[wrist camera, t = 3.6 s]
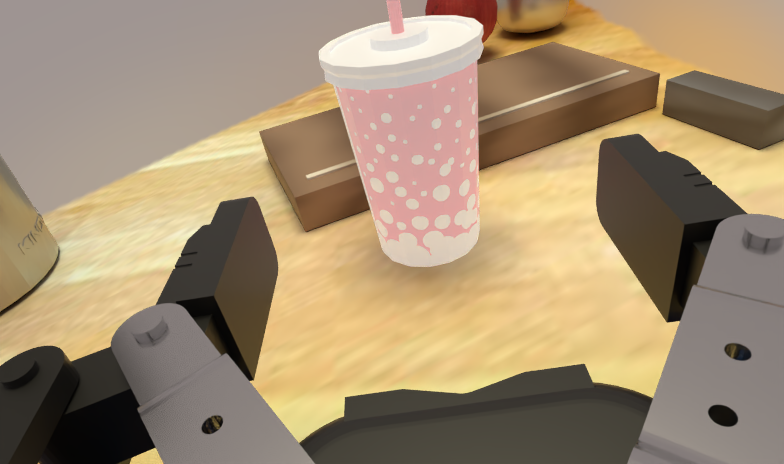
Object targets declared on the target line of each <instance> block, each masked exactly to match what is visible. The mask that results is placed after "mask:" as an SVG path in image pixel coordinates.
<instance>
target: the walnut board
mask: <svg viewBox="0 0 784 464" xmlns="http://www.w3.org/2000/svg"><path fill="white" fill-rule="evenodd" d="M659 77H660V73H656V72H653V71H650V70H646V69H643V68H639V67H636V66H633V65H629V64H626V63H622V62H619V61H616V60H612V59H609V58H605V57H602V56H599V55H595V54H592V53H588V52H585V51H582V50H578V49H575V48H571V47H568V46H565V45H561V44H558V43H554V42H551V43H548V44H544V45H541V46H538V47H534V48H531V49H528V50H525V51H521V52H518V53H515V54H512V55H508V56H505V57H502V58H498V59H495V60H492V61H489V62H485V63H482V64H479V65H477V78H478V151H479V170H480V169H482V168H485V167H488V166H491V165H494V164H496V163H499V162H502V161H505V160H508V159H510V158H513V157H516V156H519V155H522V154H524V153H527V152H530V151H533V150H536V149H538V148H541V147H544V146H547V145H549V144H552V143H555V142H558V141H561V140H563V139H566V138H569V137H572V136H575V135H577V134H580V133H583V132H586V131H589V130H591V129H594V128H597V127H600V126H603V125H605V124H608V123H611V122H614V121H617V120H619V119H622V118H625V117H628V116H631V115H633V114H636V113H639V112H642V111H645V110H647V109H650V108H653V107H656V102H657V94H658V85H659ZM662 114H664V115H667V116H670V117H673V118H675V119H678V120H681V121H683V122H686V123H689V124H691V125H694V126H697V127H700V128H702V129H705V130H708V131H710V132H713V133H716V134H718V135H721V136H724V137H727V138H729V139H732V140H735V141H737V142H740V143H743V144H745V145H748V146H751V147H754V148H756V149H761V148H764V147H766V146H769V145H771V144H774V143H776V142H779V141H781V140H784V94H780V93H776V92H773V91H769V90H766V89H762V88H758V87H754V86H751V85H747V84H743V83H739V82H736V81H732V80H728V79H725V78H721V77H717V76H714V75H710V74H706V73H703V72H699V71H692V72H689V73H686V74H683V75H680V76H677V77H674V78H671V79H668V80H667V82H666V90H665V98H664V105H663V113H662ZM259 133H260V136H261V139H262V142H263V145H264V148H265V151H266V154H267V157H268V160H269V162H270V164H271V166H272V168H273V169H274V171H275V173H276V175H277V177H278V179H279V181H280V183H281V185H282V187H283V189H284V191H285V193H286V195H287V197H288V198H289V200H290V202H291V204H292V206H293V208H294V210H295V212H296V214H297V216H298V218H299V220H300V222H301V224H302V226H303V227H304V229H305V231H309V230H312V229H314V228H317V227H320V226H323V225H326V224H328V223H331V222H334V221H337V220H340V219H342V218H345V217H348V216H351V215H354V214H356V213H359V212H362V211H365V210H368V209H370V206H369V203H368V200H367V196H366V193H365V190H364V186H363V183H362V179H361V176H360V173H359V169H358V166H357V163H356V159H355V156H354V153H353V149H352V146H351V142H350V139H349V136H348V132H347V129H346V126H345V122H344V119H343V116H342V112H341V109H340V107H338V108H335V109H331V110H328V111H325V112H322V113H318V114H315V115H312V116H309V117H305V118H302V119H299V120H295V121H292V122H289V123H286V124H282V125H279V126H276V127H272V128H269V129H266V130H263V131H259Z"/></svg>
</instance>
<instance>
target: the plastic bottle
mask: <svg viewBox="0 0 784 464" xmlns="http://www.w3.org/2000/svg"><path fill="white" fill-rule="evenodd" d="M496 1H497V6H498V8H497V22H498V23H499V25H500V26H501V27H502V29H503V30H505V31H508V32H515V33H533V32H538V31H542V30H547V29H550V28H553V27H555V26H558V25H559V24H560V23H561V22H562V20H563V18H564V17H565V15H566V13H567V8H568V2H569V0H496Z"/></svg>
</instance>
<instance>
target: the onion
mask: <svg viewBox="0 0 784 464" xmlns="http://www.w3.org/2000/svg"><path fill="white" fill-rule="evenodd" d="M497 8H498V6H497V1H496V0H428V1H427V5H426V16H430V15H457V16H462V17H468V18H474V19H475V20H477V21H478V22H479V23H481V24H482V25H483V32H484V34H483V36H482V39H481V40H482V43H484V42H485V41H486V40H487V38H488V37H489V35H490V34H491V33H492V31H493V29H494V27H495V24H496V21H497Z"/></svg>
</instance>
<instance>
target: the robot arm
mask: <svg viewBox="0 0 784 464" xmlns="http://www.w3.org/2000/svg"><path fill="white" fill-rule="evenodd" d="M596 205H597V212H598V216H599V220H600V222H601V224H602V226H603V228H604V229H605V231H606V232H607V234H608V235H609V237H610V238H611V240H612V241H613V243H614V244H615V246H616V247H617V249H618V250H619V252H620V253H621V255H622V256H623V258H624V259H625V261H626V262H627V264H628V265H629V266H630V268H631V269H632V271H633V272H634V274H635V275H636V277H637V278H638V280H639V281H640V283H641V284H642V286H643V287H644V289H645V290H646V292H647V293H648V295H649V296H650V298H651V299H652V301H653V302H654V304H655V305H656V307H657V308H658V310H659V311H660V313H661V314H662V316H663V317H664V319H665V320H666V322H674V321H680V323H679V326H678V329H677V332H676V335H675V338H674V340H673V343H672V346H671V349H670V352H669V355H668V358H667V360H666V363H665V366H664V369H663V372H662V375H661V378H660V380H659V383H658V386H657V389H656V392H655V395H654V398H651V397H649V396H647V395H644V394H641V393H639V392H636V391H633V390H630V389H626V388H622V387H619V386H614V385H608V384H603V383H594V382H592V380H591V377H590V375H589V373H588V371H587V368H586V366H585V364H579V365H572V366H565V367H558V368H551V369H544V370H537V371H529V372H524V373H521V374H518V375H516V376H513V377H510V378H508V379H505V380H502V381H499V382H497V383H494V384H491V385H489V386H486V387H483V388H481V389H478V390H475V391H473V392H469V393H464V394H458V393H445V392H432V391H419V390H406V389H401V390H393V391H386V392H379V393H372V394H365V395H358V396H350V397H345V411H344V417H341V418H339V419H336V420H334V421H332V422H330V423H328V424H326V425H324V426H323V427H321V428H319V429H318V430H316V431H315V432H313V433H312V434H310V435H309V436H308V437H306V438H305V439H304V440H303V441H301V442H300V443H298V442H297V440H296V439H295V438H294V437H293V435H292V434H291V433H290V432H289V430H288V429H287V428H286V427H285V425H284V424H283V423H282V422H281V420H280V419H279V418H278V417H277V415H276V414H275V413H274V412H273V410H272V409H271V408H270V407H269V405H268V404H267V403H266V402H265V400H264V399H263V398H262V397H261V395H260V394H259V393H258V392H257V390H256V389H255V388H254V387H253V385H252V384H251V383H250V382H249V381H252V380H254V377H255V373H256V368H257V364H258V360H259V355H260V351H261V346H262V342H263V338H264V333H265V329H266V324H267V320H268V315H269V311H270V307H271V302H272V298H273V293H274V289H275V285H276V280H277V276H278V261H277V255H276V251H275V248H274V245H273V242H272V240H271V237H270V234H269V231H268V229H267V226H266V223H265V220H264V217H263V215H262V212H261V209H260V206H259V204H258V202H257V200H256V199H255V198H254V197H247V198H241V199H235V200H229V201H223V202H221V203H220V204H219V206H218V209H217V211H216V213H215V215H214V217H213V220H212V222H211V224H209V225H203V226H202V227H201V228H200V229H199V230H198V231H197V232H196V233H195V234H193V235H192V236H191V237H190V238H189V239H188V241H187V243H186V245H185V247H184V249H183V251H182V253H181V257H179V259H178V261H177V263H176V265H175V269H173V271H172V273H171V275H170V277H169V279H168V281H167V283H166V285H165V287H164V289H163V291H162V293H161V295H160V297H159V299H158V301H157V303H156V305H155V306H151V307H149V308H146V309H144V310H142V311H140V312H138V313H136V314H135V315H133V316H132V317H130V318H129V319H127V320H126V321H125V322H124V323H123V324H122V325H121V326H120V327H119V328H118V329H117V331H116V332H115V334H114V336H113V338H112V341H111V347H109V348H106V349H103V350H101V351H98V352H95V353H93V354H90V355H87V356H85V357H82V358H79V359H77V360H74V361H70V360H69V359H68V357H67V356H66V355H65V353H64V352H63V351H62V350H61V349H60V348H58V347H55V346H41V347H37V348H33V349H30V350H27V351H25V352H23V353H21V354H19V355H17V356H15V357H13V358H11V359H10V360H8V361H7V362H5V363H4V364H2V365H1V366H0V464H38V462H39V463H40V464H130V461H131V458H132V457H134V456H137V455H139V454H141V453H144V452H146V451H148V450H151V449H153V448H156V449H157V451H158V453H159V455H160V457H161V459H162V461H163V463H164V464H784V219H781V218H778V217H774V216H769V215H761V214H747V213H746V212H745V211H744V210H743V209H742V208H740V207H739V206H738V205H737V204H736V203H735V202H734V201H733V200H732V199H730V198H729V197H728V196H727V195H726V194H725V193H724V192H723V191H721V190H720V189H719V188H718V187H717V186H716V185H712V182H711V181H710V180H709V179H708V178H707V177H706V176H705V175H701V172H700V171H699V170H698V169H697V168H696V167H694V166H693V165H692V164H691V163H690V162H689V161H688V160H686V159H684V158H681V157H679V156H676V155H674V154H672V153H669V152H667V151H663V152H658V151H657V150H656V149H655V148H654V147H653V146H652V145H651V144H650V143H649V142H648V141H647V140H646V139H645V138H644V137H643V136H641V135H640V134H633V135H627V136H621V137H615V138H609V139H604V140H603V141H602V142H601V145H600V149H599V163H598V179H597V195H596ZM58 248H59V246H58V244H57V243H56V241H55V239H54V238H53V236H52V235H51V233H50V232H49V230H48V228H47V227H46V225H45V223H44V221H43V218H42V217H41V215H40V214H39V212H38V211H37V209H36V208H35V207H34V206H33V205H32V203H31V201H30V200H29V198H28V197H27V195H26V194H25V192H24V191H23V189H22V188H21V186H20V185H19V183H18V181H17V179H16V178H15V176H14V175H13V173H12V172H11V170H10V169H9V167H8V165H7V164H6V162H5V161H4V159H3V158H2V156H1V155H0V311H1V310H3V309H5V308H6V307H8V306H9V305H11V304H12V303H14V302H15V301H17V300H18V299H19V298H20V297H22V296H23V295H24V294H26V293H27V292H28V291H29V290H31V289H32V288H33V287H34V286H35V285H36V284H37V283H38V282H39V281H40V280H41V279H42V278H43V277H44V276H45V275H46V274H47V273H48V271H49V270H50V269H51V267H52V266H53V265H54V263H55V261H56V258H57V256H58Z"/></svg>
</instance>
